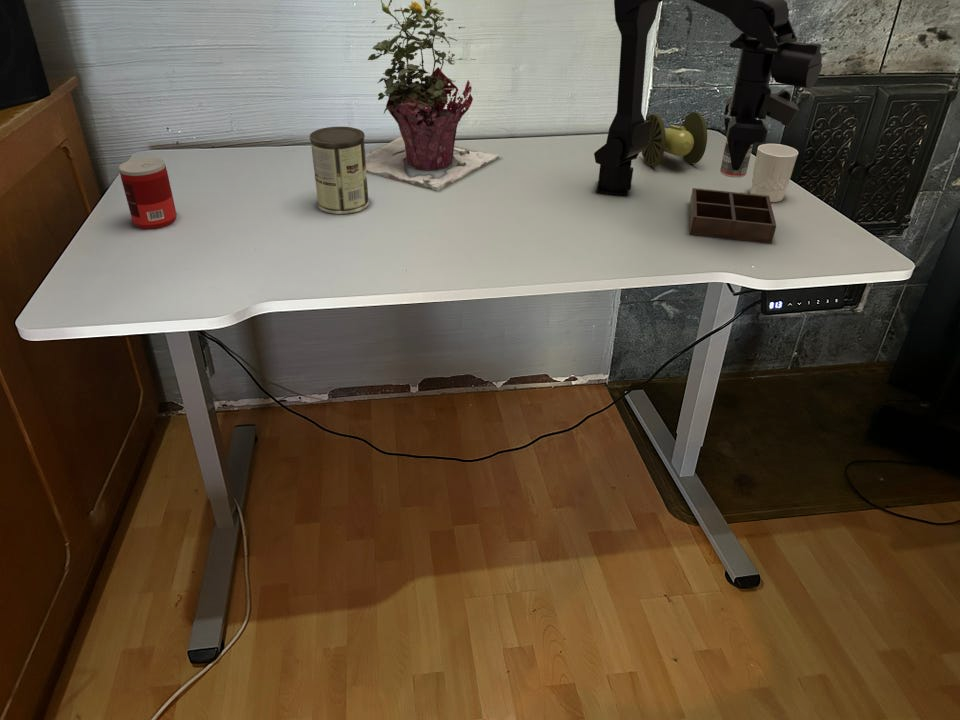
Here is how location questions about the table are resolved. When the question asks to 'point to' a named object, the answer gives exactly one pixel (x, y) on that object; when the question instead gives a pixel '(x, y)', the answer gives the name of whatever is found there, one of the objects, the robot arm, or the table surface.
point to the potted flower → (422, 109)
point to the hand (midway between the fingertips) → (734, 165)
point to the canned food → (148, 192)
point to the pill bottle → (727, 166)
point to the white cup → (773, 170)
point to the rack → (731, 215)
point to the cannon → (676, 139)
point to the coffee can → (340, 169)
